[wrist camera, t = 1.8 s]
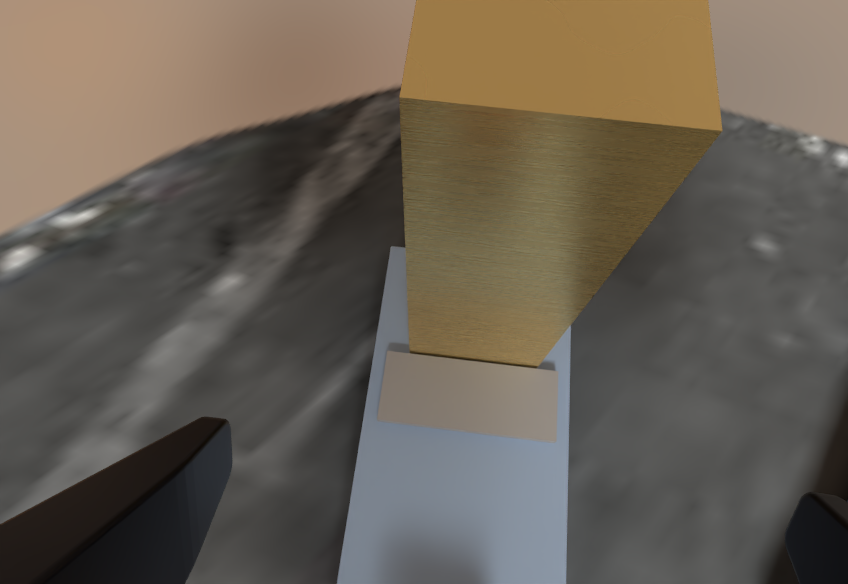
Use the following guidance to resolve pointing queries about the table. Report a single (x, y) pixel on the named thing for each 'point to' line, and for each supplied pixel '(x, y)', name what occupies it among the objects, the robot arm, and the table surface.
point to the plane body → (457, 464)
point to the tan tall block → (540, 158)
